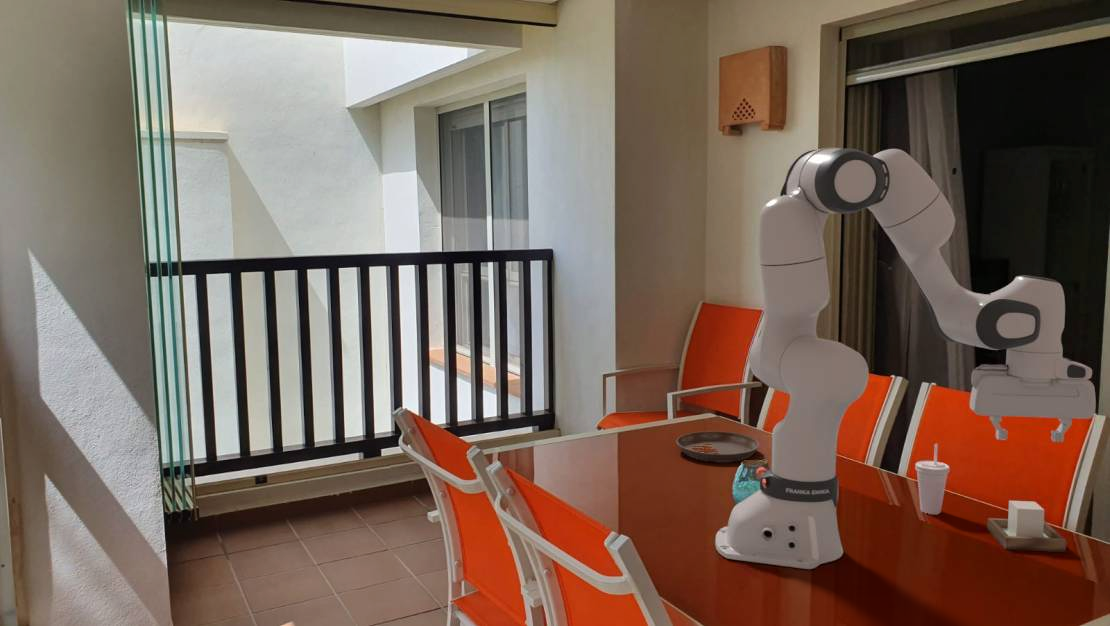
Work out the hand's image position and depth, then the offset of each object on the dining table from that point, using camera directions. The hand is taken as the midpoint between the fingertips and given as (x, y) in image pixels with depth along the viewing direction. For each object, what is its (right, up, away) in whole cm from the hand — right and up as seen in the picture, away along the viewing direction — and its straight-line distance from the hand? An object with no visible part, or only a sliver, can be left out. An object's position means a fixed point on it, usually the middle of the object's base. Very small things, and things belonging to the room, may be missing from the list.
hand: (1029, 440), depth 155 cm
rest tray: (0, -19, +2) cm, 19 cm away
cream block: (0, -18, +2) cm, 18 cm away
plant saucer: (-45, -13, +62) cm, 78 cm away
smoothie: (-10, -17, +18) cm, 27 cm away
